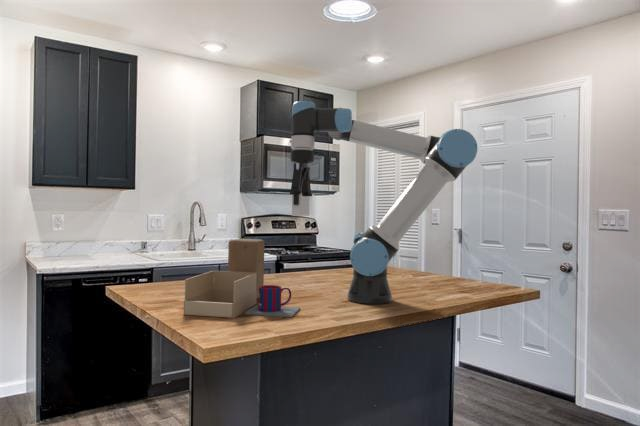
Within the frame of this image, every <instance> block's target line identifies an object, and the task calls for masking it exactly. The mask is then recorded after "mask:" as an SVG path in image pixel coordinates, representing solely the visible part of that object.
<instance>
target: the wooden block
mask: <svg viewBox="0 0 640 426" xmlns="http://www.w3.org/2000/svg"><path fill="white" fill-rule="evenodd" d="M227 255H228V260H227V262H228V263H227V271H232V272H253V273H257V277H256V291H257V299H259V286H264V285H265V284H264V283H265V282H264V280H265V279H264V276H265V273H264V272H265V240H264V239H257V238H256V239H255V238H236V239H230V240H229V241H228V254H227Z"/></svg>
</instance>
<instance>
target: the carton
mask: <svg viewBox="0 0 640 426" xmlns="http://www.w3.org/2000/svg"><path fill="white" fill-rule="evenodd" d="M256 277H257V273H253V272H232V271H228V270H211V271H208V272H204V273H201V274H198V275H195V276H191V277H189V278H186V279H184V300H183V316H197V317H198V316H199V317H200V316H201V317H210V318H211V317H214V318H227V319H228V318H229V319H231V318H232V319H235V318H236V317H237V316H239V315H241V314H243V313H245V312H246V311H248V310H249V309H251V308H252V307H254V306H255V305H257V301H258V298H257V291H256Z"/></svg>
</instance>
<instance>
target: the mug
mask: <svg viewBox="0 0 640 426" xmlns="http://www.w3.org/2000/svg"><path fill="white" fill-rule="evenodd" d="M285 290H287V291H288V293H289V294H288V298H287V300H286V301H285V302H282V292H283V291H285ZM291 298H292V291H291V289H290V288H289V287H282V286H281V285H275V284H274V285H273V284H270V285H269V284H268V285H265V284H264V285H263V286H259V298H258V303H257V305H258V310H259V311H263V312H276V311H280V310H281V306H285V305H287V304H288V303H289V302H290V301H291Z"/></svg>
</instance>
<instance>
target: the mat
mask: <svg viewBox="0 0 640 426" xmlns="http://www.w3.org/2000/svg"><path fill="white" fill-rule="evenodd" d="M300 310H301V307H299V306H285V305H283V306H281V310H280V311H276V312H263V311H259V310H258V304H255V305H253V306H252V307H250V308H249V309H247V310H246V311H244V315H247V316H249V315H250V316H263V317H265V316H266V317H281V318H293V317H294V316H295V315H296V314H297V313H298V312H299V311H300Z"/></svg>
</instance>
